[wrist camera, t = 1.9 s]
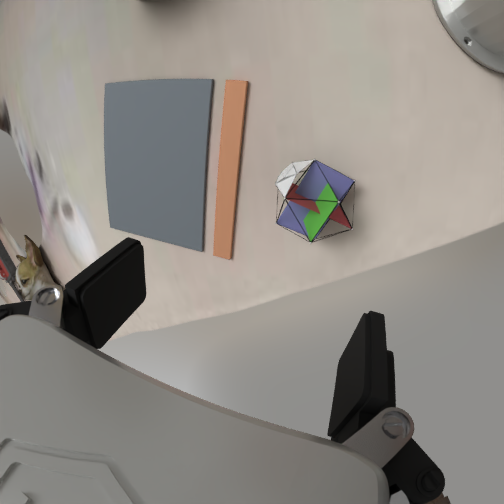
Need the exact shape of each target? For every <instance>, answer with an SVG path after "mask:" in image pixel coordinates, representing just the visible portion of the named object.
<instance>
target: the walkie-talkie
mask: <svg viewBox="0 0 504 504" xmlns="http://www.w3.org/2000/svg"><path fill="white" fill-rule="evenodd" d="M16 269H17V268H16V267H15V265H14V263H13V262H12V260H11V258H10V256H9V255H8V253H7V251H6V249H5V247H4V246H3V244H2V242H1V240H0V278H1V279H2V280H5V281H6V283H9V284H10V286H11V287H12V288H13V290H14V291H15V293H16V295H17V296H18V298H19V299H20V301H21V302H25V301H24V299H23V298H22V296H21V295H19V293H18V290H17V288H16V287H15V285H14V283H13V281H14V280H15V279H16Z"/></svg>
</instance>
